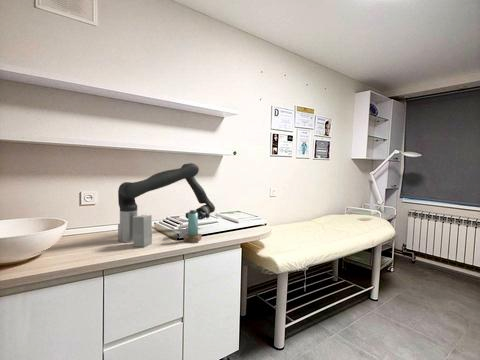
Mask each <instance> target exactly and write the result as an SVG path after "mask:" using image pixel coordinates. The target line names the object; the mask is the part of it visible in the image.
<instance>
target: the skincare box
mask: <svg viewBox="0 0 480 360" xmlns="http://www.w3.org/2000/svg"><path fill="white" fill-rule="evenodd" d="M152 217H153V216H152V215H151V214H150V215H147V214H145V215H144V214H141V215H137V216H136V217H133V239H134V241H133V247H139V248H145V247H147V246H149V245H151V244H153V233H152V232H153V229H152V228H153V227H152V226H153V225H152V224H153V223H152V222H153V221H152V220H153V219H152Z"/></svg>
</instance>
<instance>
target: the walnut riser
mask: <svg viewBox="0 0 480 360" xmlns="http://www.w3.org/2000/svg"><path fill="white" fill-rule="evenodd" d="M201 240H202V233H198V236H188V233H187V234H185V235H184V237H183V242H184V243H193V244H194V243H196V244H197V243H199V242H200V241H201Z"/></svg>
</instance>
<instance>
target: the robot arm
mask: <svg viewBox="0 0 480 360" xmlns="http://www.w3.org/2000/svg"><path fill="white" fill-rule="evenodd" d="M199 171H200V169H199V166H198V165H197V164H196V163H192V162H190V163H184V164H182V165H181V167H179V168H174V169H169V170H168V169H167V170H164V171H160V172H157V173H154V174H153V175H151V176H149V177H147V178H146V179H143V180H139V181H134V182H129V181H127V182H126V181H125V182H122V183H121V184H120V185H119V187H118V189H117V191H118V192H117V197H118V199H117V201H118V207H119V223H118V224H117V242H121V243H134V239H133V217H136V216H138V204H137V203H136V198H138V197H140V196H142V195H145V194H146V193H148V192H149V193H150V192H152V191H154V190H159V189H161V188H164V187H167V186H169V185H172V184H174V183H177V182H179V181H182V180H184V179H185V180H186V182H187V184H188V185H189V187H190V189H192V191H193V193H194V195H195V197H196V200H197V201H198V204H203V205H200V206H199V207H198V208H196V209H195V210H196V212H197V213H198V221H199V220H200V221H201V220H204V219H209V218H210V216H211V214H212V213H214V212H215V211H216V207H215V205H214V203H213V202H212V201H211V200H210V199H209V198H208V196H207V193H206V191H205V189H204V188H203V187H202V185H200V183H199V182H198V180H197V179H196V178H195V177H196V176H197V175H198V173H199ZM188 213H190V211H189V212H186V213H185V218H186V219H187V220H188Z"/></svg>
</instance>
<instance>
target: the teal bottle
mask: <svg viewBox="0 0 480 360" xmlns="http://www.w3.org/2000/svg"><path fill="white" fill-rule="evenodd" d="M189 212H190V213H188V212H187V213H188V219H187V234H188V236H198V234H199V232H198V231H199V219H198V213H197V212H196V209H191V210H189Z"/></svg>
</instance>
